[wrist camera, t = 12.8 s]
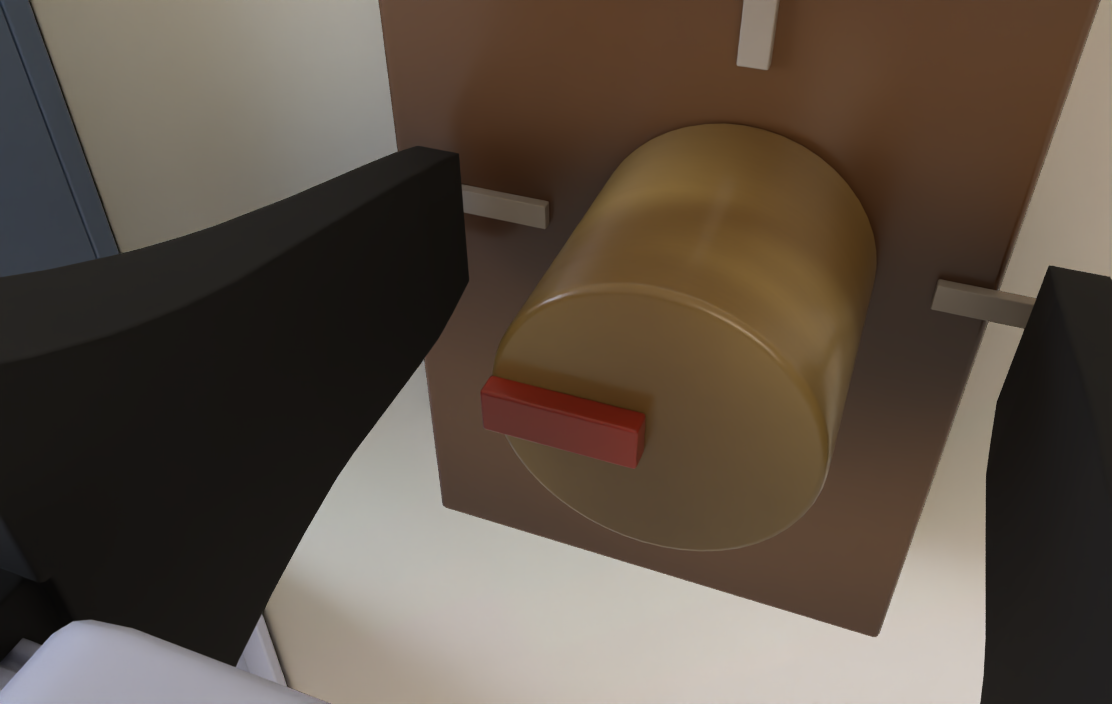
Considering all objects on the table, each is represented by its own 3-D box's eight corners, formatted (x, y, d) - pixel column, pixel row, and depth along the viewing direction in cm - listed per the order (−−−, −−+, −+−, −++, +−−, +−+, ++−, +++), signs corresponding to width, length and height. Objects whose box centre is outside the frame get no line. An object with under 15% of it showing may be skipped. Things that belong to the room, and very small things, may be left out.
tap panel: (935, 540, 18) (920, 662, 16) (495, 421, 20) (437, 514, 18) (1217, -214, 10) (1253, -149, 8) (448, -258, 13) (339, -217, 11)
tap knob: (906, 147, 11) (854, 356, 8) (850, 388, 13) (794, 613, 11) (598, 99, 12) (463, 271, 9) (596, 330, 14) (487, 521, 12)
